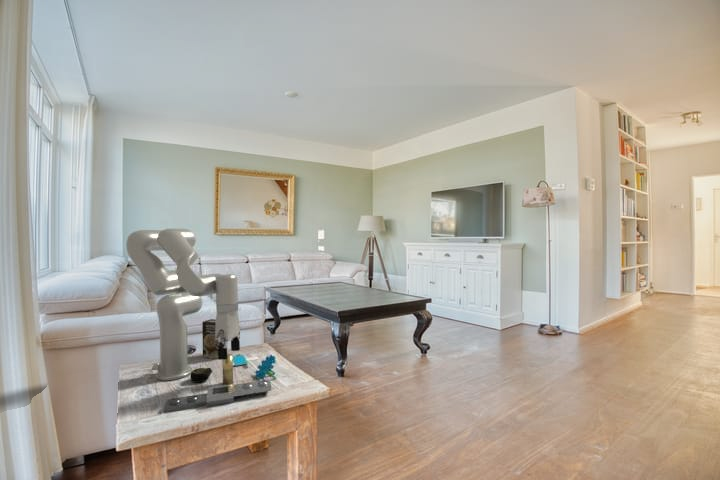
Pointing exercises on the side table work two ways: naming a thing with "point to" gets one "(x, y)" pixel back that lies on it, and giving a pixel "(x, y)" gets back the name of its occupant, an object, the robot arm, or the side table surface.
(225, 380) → the pin
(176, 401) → the gray studded rail
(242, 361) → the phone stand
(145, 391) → the side table surface
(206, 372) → the tape measure
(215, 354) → the coffee box
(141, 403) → the side table surface
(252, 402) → the side table surface
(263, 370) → the gear
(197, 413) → the side table surface
